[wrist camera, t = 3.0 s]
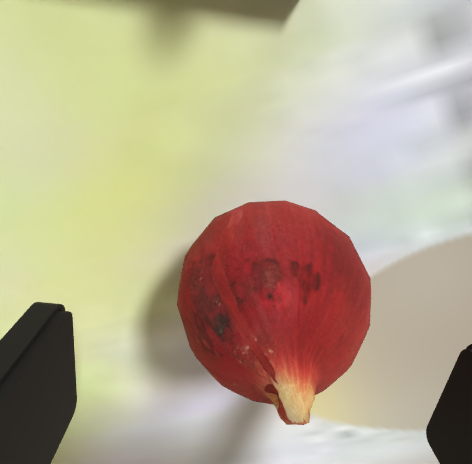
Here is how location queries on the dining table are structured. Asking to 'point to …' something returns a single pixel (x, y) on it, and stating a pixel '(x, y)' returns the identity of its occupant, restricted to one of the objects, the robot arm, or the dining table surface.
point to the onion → (275, 304)
